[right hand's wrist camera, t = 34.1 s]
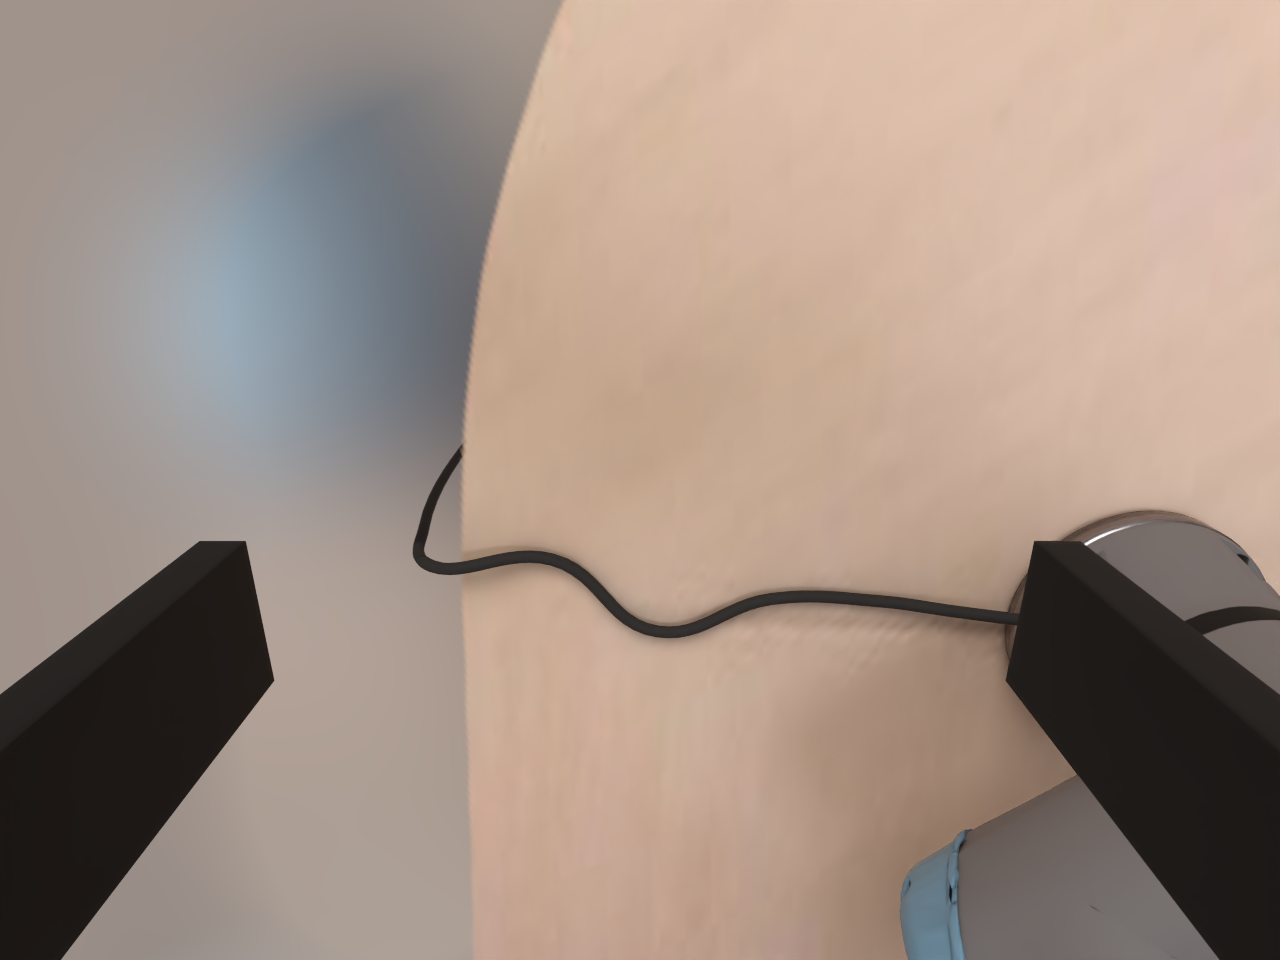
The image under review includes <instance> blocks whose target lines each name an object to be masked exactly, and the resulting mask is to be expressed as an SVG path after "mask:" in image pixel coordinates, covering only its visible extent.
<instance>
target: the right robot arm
mask: <svg viewBox="0 0 1280 960" xmlns="http://www.w3.org/2000/svg"><path fill="white" fill-rule="evenodd" d="M463 443H464V442H463ZM463 443H462V445H461V446H460V447H459V448H458V450H457V451H456V453H455V454H454V455H453V456H452V458H451V459H450V461H449V462H448V464H447V465H446V467H445V468H444V469H443V471H442V473H441V474H440V476H439V478H438V479H437V481H436V483H435V484H434V486H433V488H432V490H431V492H430V494H429V496H428V499H427V501H426V504H425V506H424V509H423V512H422V515H421V519H420V523H419V527H418V530H417V534H416V537H415V540H414V543H413V558H414V560H415V561H416V563H417V564H418V565H419V566H420V567H421V568H423V569H424V570H427V571H429V572H432V573H436V574H444V575H457V574H465V573H471V572H476V571H481V570H485V569H489V568H494V567H498V566H503V565H509V564H517V563H541V564H546V565H551V566H554V567H556V568H559V569H562V570H564V571H566V572H567V573H569V574H571V575H573V576H574V577H575V578H577V579H578V580H579V581H581V582H582V583H583V584H584V585H585V586H586V587H587V588H588V589H589V590H590V591H591V592H592V593H593V594H594V595H595V596H596V597H597V598H598V600H599V601H600V602H601V603H602V604H603V605H604V606H605V607H606V608H607V609H608V610H609V611H610V612H611V613H612V614H613V615H614V616H615V617H616V618H617V619H618V620H620V621H621V622H622V623H623V624H625V625H626V626H628V627H630V628H631V629H633V630H635V631H637V632H640V633H642V634H645V635H649V636H654V637H661V638H679V637H685V636H690V635H693V634H697V633H700V632H702V631H705V630H707V629H709V628H712V627H714V626H716V625H718V624H720V623H722V622H724V621H726V620H728V619H730V618H732V617H735V616H737V615H739V614H741V613H744V612H747V611H749V610H752V609H755V608H759V607H763V606H769V605H775V604H785V603H801V602H819V603H837V604H849V605H860V606H871V607H883V608H893V609H901V610H909V611H915V612H921V613H928V614H934V615H941V616H947V617H955V618H962V619H970V620H977V621H985V622H993V623H1001V624H1006V647H1007V652H1008V656H1009V659H1010V662H1009V667H1008V672H1007V677H1006V682H1007V683H1008V684H1009V686H1010V687H1011V688H1012V689H1013V691H1014V692H1015V693H1016V695H1017V696H1018V697H1019V699H1020V700H1021V701H1022V703H1023V704H1024V705H1025V706H1026V708H1027V709H1028V710H1029V712H1030V713H1031V714H1032V716H1033V717H1034V718H1035V720H1036V721H1037V722H1038V723H1039V725H1040V726H1041V727H1042V729H1043V730H1044V731H1045V733H1046V734H1047V735H1048V737H1049V738H1050V739H1051V740H1052V742H1053V743H1054V744H1055V746H1056V747H1057V748H1058V750H1059V751H1060V752H1061V754H1062V755H1063V756H1064V757H1065V759H1066V760H1067V761H1068V763H1069V764H1070V765H1071V767H1072V768H1073V769H1074V771H1075V772H1076V773H1077V774H1078V775H1076V776H1074V777H1072V778H1071V779H1069V780H1067V781H1065V782H1063V783H1061V784H1059V785H1058V786H1056V787H1054V788H1052V789H1050V790H1048V791H1047V792H1045V793H1043V794H1041V795H1039V796H1037V797H1035V798H1034V799H1032V800H1030V801H1028V802H1026V803H1024V804H1022V805H1020V806H1018V807H1016V808H1014V809H1012V810H1010V811H1008V812H1006V813H1005V814H1003V815H1001V816H999V817H997V818H995V819H993V820H991V821H989V822H987V823H985V824H983V825H981V826H979V827H977V828H975V829H969V830H965V831H962V832H960V833H959V834H958V835H957V837H956V838H955V839H954V841H953V842H952V843H950V844H948V845H947V846H945V847H944V848H942V849H941V850H939V851H937V852H936V853H934V854H932V855H931V856H929V857H927V858H926V859H924V860H922V861H921V862H919V863H918V864H917V865H915V866H914V867H913V868H912V869H911V870H910V872H909V873H908V874H907V876H906V878H905V880H904V883H903V887H902V891H901V908H900V918H901V927H902V934H903V939H904V944H905V949H906V953H907V957H908V960H1280V596H1279V595H1278V594H1277V592H1276V591H1275V590H1274V589H1273V588H1272V587H1271V586H1270V585H1269V584H1268V583H1267V582H1266V581H1265V579H1264V577H1263V575H1262V573H1261V571H1260V569H1259V568H1258V567H1257V565H1256V564H1255V562H1254V561H1253V560H1252V559H1251V558H1250V556H1249V555H1248V554H1247V553H1246V552H1245V551H1244V550H1243V549H1242V548H1241V547H1240V546H1239V545H1238V544H1237V543H1236V542H1234V541H1233V540H1232V539H1230V538H1229V537H1227V536H1225V535H1224V534H1222V533H1221V532H1219V531H1217V530H1215V529H1213V528H1212V527H1210V526H1208V525H1206V524H1205V523H1203V522H1201V521H1198V520H1196V519H1194V518H1191V517H1188V516H1185V515H1181V514H1177V513H1172V512H1164V511H1137V512H1131V513H1124V514H1120V515H1116V516H1112V517H1108V518H1105V519H1102V520H1099V521H1097V522H1095V523H1092V524H1090V525H1087V526H1085V527H1083V528H1081V529H1079V530H1077V531H1076V532H1074V533H1072V534H1071V535H1069V536H1067V537H1066V538H1064V539H1063V540H1062V541H1034V545H1033V550H1032V555H1031V560H1030V565H1029V570H1028V574H1027V575H1026V577H1025V578H1024V579H1023V581H1022V583H1021V584H1020V586H1019V588H1018V590H1017V592H1016V594H1015V596H1014V598H1013V600H1012V603H1011V606H1010V609H1009V612H1001V611H993V610H985V609H978V608H970V607H962V606H955V605H947V604H941V603H934V602H928V601H921V600H915V599H908V598H901V597H892V596H881V595H869V594H858V593H847V592H834V591H787V592H777V593H769V594H763V595H758V596H755V597H751V598H748V599H745V600H742V601H740V602H737V603H735V604H733V605H730V606H728V607H726V608H724V609H722V610H720V611H718V612H716V613H714V614H712V615H710V616H708V617H705V618H703V619H701V620H698V621H696V622H693V623H690V624H686V625H681V626H670V627H667V626H657V625H653V624H649V623H646V622H644V621H641V620H639V619H637V618H636V617H634V616H632V615H631V614H630V613H628V612H627V611H626V610H625V609H624V608H623V607H622V606H621V605H619V604H618V603H617V602H616V600H615V599H614V598H613V597H612V596H611V595H610V594H609V593H608V592H607V590H606V589H605V588H604V587H603V586H602V585H601V584H600V583H599V582H598V581H597V580H596V579H595V578H594V577H593V576H592V575H591V574H590V573H589V572H588V571H586V570H585V569H583V568H582V567H581V566H579V565H578V564H576V563H574V562H572V561H571V560H569V559H567V558H564V557H561V556H559V555H556V554H552V553H547V552H542V551H515V552H507V553H502V554H497V555H492V556H487V557H483V558H479V559H474V560H469V561H464V562H457V563H442V562H438V561H434V560H432V559H430V558H429V557H427V556H426V555H425V552H424V548H425V543H426V540H427V537H428V533H429V529H430V524H431V520H432V516H433V513H434V510H435V507H436V504H437V501H438V499H439V497H440V495H441V493H442V491H443V488H444V486H445V485H446V483H447V481H448V479H449V477H450V476H451V474H452V472H453V471H454V469H455V468H456V466H457V465H458V463H459V462H460V460H461V459H462V457H463V451H464V445H463ZM273 682H274V677H273V672H272V667H271V662H270V658H269V653H268V648H267V643H266V638H265V633H264V628H263V623H262V618H261V614H260V609H259V604H258V599H257V594H256V589H255V584H254V580H253V575H252V570H251V565H250V560H249V555H248V550H247V545H246V541H199V542H198V543H197V544H195V545H194V546H193V547H191V548H190V549H189V550H187V551H186V552H185V553H184V554H182V555H181V556H180V557H178V558H177V559H176V560H175V561H173V562H172V563H171V564H169V565H168V566H167V567H165V568H164V569H163V570H162V571H160V572H159V573H158V574H156V575H155V576H154V577H152V578H151V579H150V580H148V581H147V582H146V583H145V584H143V585H142V586H141V587H139V588H138V589H137V590H135V591H134V592H133V593H132V594H130V595H129V596H128V597H126V598H125V599H124V600H122V601H121V602H120V603H119V604H117V605H116V606H115V607H113V608H112V609H111V610H109V611H108V612H107V613H106V614H104V615H103V616H102V617H100V618H99V619H98V620H97V621H95V622H94V623H93V624H91V625H90V626H89V627H87V628H86V629H85V630H83V631H82V632H81V633H80V634H78V635H77V636H76V637H74V638H73V639H72V640H70V641H69V642H68V643H67V644H65V645H64V646H63V647H61V648H60V649H59V650H58V651H56V652H55V653H54V654H52V655H51V656H50V657H48V658H47V659H46V660H44V661H43V662H42V663H41V664H39V665H38V666H37V667H35V668H34V669H33V670H31V671H30V672H29V673H28V674H26V675H25V676H24V677H22V678H21V679H20V680H18V681H17V682H16V683H15V684H13V685H12V686H11V687H9V688H8V689H7V690H6V691H4V692H3V693H2V694H0V960H61V959H62V958H63V956H64V955H65V953H66V952H67V951H68V950H69V948H70V947H71V946H72V944H73V943H74V942H75V941H76V939H77V938H78V937H79V935H80V934H81V933H82V931H83V930H84V929H85V927H86V926H87V925H88V923H89V922H90V921H91V920H92V918H93V917H94V916H95V914H96V913H97V912H98V910H99V909H100V908H101V907H102V905H103V904H104V903H105V901H106V900H107V899H108V897H109V896H110V895H111V893H112V892H113V891H114V890H115V888H116V887H117V886H118V884H119V883H120V882H121V880H122V879H123V878H124V876H125V875H126V874H127V873H128V871H129V870H130V869H131V867H132V866H133V865H134V863H135V862H136V861H137V859H138V858H139V857H140V856H141V854H142V853H143V852H144V850H145V849H146V848H147V846H148V845H149V844H150V842H151V841H152V840H153V839H154V837H155V836H156V835H157V833H158V832H159V831H160V829H161V828H162V827H163V825H164V824H165V823H166V822H167V820H168V819H169V818H170V816H171V815H172V814H173V812H174V811H175V810H176V808H177V807H178V806H179V804H180V803H181V802H182V801H183V799H184V798H185V797H186V795H187V794H188V793H189V791H190V790H191V789H192V787H193V786H194V785H195V784H196V782H197V781H198V780H199V778H200V777H201V776H202V774H203V773H204V772H205V770H206V769H207V768H208V767H209V765H210V764H211V763H212V761H213V760H214V759H215V757H216V756H217V755H218V754H219V752H220V751H221V750H222V748H223V747H224V746H225V744H226V743H227V742H228V740H229V739H230V738H231V736H232V735H233V734H234V733H235V731H236V730H237V729H238V727H239V726H240V725H241V723H242V722H243V721H244V720H245V718H246V717H247V716H248V714H249V713H250V712H251V710H252V709H253V708H254V706H255V705H256V704H257V703H258V701H259V700H260V699H261V697H262V696H263V695H264V693H265V692H266V691H267V689H268V688H269V687H270V686H271V684H272V683H273Z"/></svg>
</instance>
